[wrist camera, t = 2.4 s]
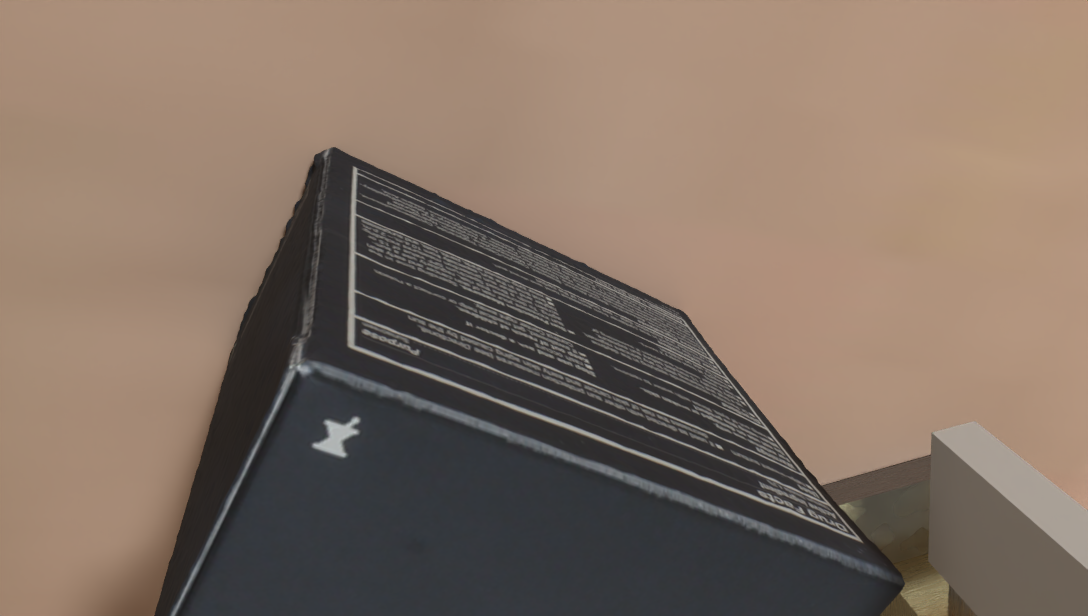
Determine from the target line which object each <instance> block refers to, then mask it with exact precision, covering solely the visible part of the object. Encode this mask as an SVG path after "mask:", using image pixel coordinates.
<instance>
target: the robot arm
mask: <svg viewBox="0 0 1088 616" xmlns="http://www.w3.org/2000/svg"><path fill="white" fill-rule="evenodd" d="M928 562H929V563H930V564H931V565H932V566H933V567H934V568H935V569H936V570H937V572H938V573H939V574H940V575H941V576H942V577H943V578H944V579H945V580H946V582H947V583H948V584H949V585H950V586H951V587H952V588H953V589H954V591H955V592H956V593H957V594H958V595H959V596H960V597H961V598H962V599H963V601H964V602H965V603H966V604H967V605H968V606H969V607H970V608H971V609H972V611H973V612H974V613H975V614H976V615H977V616H1088V510H1086V509H1085V508H1084V507H1083V506H1081V505H1080V504H1079V503H1078V502H1076V501H1075V500H1074V499H1073V498H1071V497H1070V496H1069V495H1068V494H1066V493H1065V492H1064V491H1063V490H1061V489H1060V488H1059V487H1057V486H1056V485H1055V484H1054V483H1052V482H1051V481H1050V480H1049V479H1047V478H1046V477H1045V476H1044V475H1042V474H1041V473H1040V472H1039V471H1037V470H1036V469H1035V468H1034V467H1032V466H1031V465H1030V464H1029V463H1027V462H1026V461H1025V460H1023V459H1022V458H1021V457H1020V456H1018V455H1017V454H1016V453H1015V452H1013V451H1012V450H1011V449H1010V448H1008V447H1007V446H1006V445H1005V444H1003V443H1002V442H1001V441H1000V440H998V439H997V438H996V437H995V436H993V435H992V434H991V433H989V432H988V431H987V430H986V429H984V428H983V427H982V426H981V425H979V424H978V423H977V422H976V421H973V422H969V423H966V424H962V425H958V426H954V427H951V428H947V429H943V430H940V431H936V432H932V440H931V477H930V514H929V552H928Z"/></svg>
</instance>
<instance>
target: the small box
mask: <svg viewBox="0 0 1088 616" xmlns="http://www.w3.org/2000/svg"><path fill="white" fill-rule="evenodd" d="M305 185H306V189H305V192H304V194H303V196H302V198H301V200H299V201H297V203H296V204H295V213H294V216H293V217H292V218H291V219H289V221H288V223H287V225H286V234H285V236H284V237H283V238H282V239H281V241H280V246H279V249H278V250H277V252H276V253H275V256H274V259H273V261H272V263H271V265H270V266H269V267H268V268H267V269H266V274H265V277H264V280H263V282H262V284H261V286H260V287H259V291H258V293H257V295H256V296H255V297H253V298H252V299H251V300H250V302H249V306H248V309H247V310H246V312H245V314H244V319H243V321H242V322H241V326H240V330H239V332H238V336H237V340H236V342H235V344H234V347H233V349H232V351H231V353H230V357H229V361H228V366H227V371H226V373H225V376H224V380H223V382H222V386H221V390H220V394H219V397H218V402H217V405H216V407H215V412H214V415H213V418H212V421H211V424H210V428H209V432H208V435H207V439H206V442H205V445H204V449H203V452H202V456H201V460H200V464H199V466H198V469H197V471H196V475H195V478H194V482H193V485H192V488H191V493H190V496H189V500H188V503H187V506H186V510H185V513H184V517H183V520H182V523H181V527H180V530H179V533H178V535H177V541H176V544H175V548H174V552H173V555H172V557H171V560H170V562H169V566H168V570H167V573H166V576H165V579H164V583H163V587H162V591H161V595H160V598H159V602H158V605H157V608H156V612H155V615H154V616H880V615H881V614H882V612H883V611H884V610H885V609H886V608H887V607H888V605H889V604H890V603H891V602H892V601H893V600H894V599H895V598H896V597H897V595H898V594H899V593H900V592H901V591H902V589H903V587H904V585H905V582H904V579H903V577H902V574H901V573H900V572H899V571H898V569H897V568H896V567H895V566H894V565H893V563H892V562H891V561H890V560H889V559H888V557H887V556H886V555H885V554H884V553H882V551H881V550H880V549H879V548H878V547H877V545H875V544H874V543H873V542H872V541H870V540H869V539H868V538H867V537H866V536H865V534H864V533H863V532H862V531H861V530H860V529H859V527H858V526H857V525H856V524H855V522H854V521H852V520H851V519H850V518H849V516H848V515H847V514H846V513H845V512H844V511H843V510H842V509H841V508H840V507H839V506H838V505H837V504H836V502H835V501H834V500H833V499H832V498H831V496H830V495H829V494H828V493H827V492H826V490H825V489H824V488H823V487H822V486H821V485H820V484H819V483H818V481H817V479H816V478H815V477H814V476H813V475H812V474H811V473H810V472H809V471H808V470H807V469H806V468H805V466H804V465H803V463H802V461H801V460H800V459H799V458H798V457H797V456H796V455H795V453H794V452H793V451H792V449H791V448H790V446H789V445H788V443H787V442H786V441H785V440H784V439H783V438H782V437H781V436H780V435H779V433H778V432H777V431H776V429H775V428H774V427H773V426H772V424H771V423H770V422H769V420H768V419H767V418H766V417H765V415H764V414H763V413H762V412H761V411H760V410H759V408H758V407H757V406H756V404H755V403H754V402H753V401H752V400H751V399H750V397H749V396H748V394H747V393H746V392H745V391H744V389H743V388H742V387H741V386H740V384H739V383H738V382H737V381H736V380H735V379H734V377H733V376H732V375H731V374H730V373H729V371H728V370H727V368H726V367H725V365H724V364H723V363H722V362H721V361H720V359H719V358H718V357H717V356H716V355H715V354H714V352H713V350H712V349H711V348H710V347H709V345H708V344H707V342H706V341H705V340H704V338H703V337H702V335H701V334H700V333H699V332H698V330H697V329H696V328H695V326H694V325H693V324H692V322H691V320H690V319H689V317H688V316H687V315H686V314H685V313H684V312H683V311H681V310H679V309H676V308H673V307H671V306H669V305H667V304H665V303H663V302H661V301H659V300H658V299H655V298H653V297H651V296H649V295H647V294H645V293H643V292H641V291H639V290H637V289H635V288H632V287H630V286H628V285H626V284H624V283H621V282H620V281H618V280H615V279H613V278H611V277H609V276H607V275H604V274H602V273H600V272H598V271H596V270H594V269H592V268H590V267H588V266H587V265H586V264H584V263H581V262H578V261H575V260H573V259H571V258H569V257H567V256H565V255H563V254H560V253H558V252H556V251H555V250H553V249H550V248H548V247H546V246H544V245H541V244H539V243H537V242H535V241H533V240H531V239H529V238H527V237H524V236H522V235H520V234H518V233H517V232H515V231H512V230H509V229H507V228H505V227H503V226H501V225H499V224H497V223H496V222H495V221H493V220H491V219H488V218H486V217H484V216H481V215H479V214H476V213H474V212H472V211H471V210H467V209H465V208H463V207H461V206H459V205H457V204H454V203H452V202H451V201H449V200H446V199H444V198H442V197H439V196H438V195H437V194H435V193H432V192H429V191H427V190H425V189H423V188H421V187H419V186H417V185H414V184H412V183H410V182H408V181H405V180H403V179H401V178H399V177H397V176H394V175H392V174H390V173H388V172H386V171H383V170H381V169H378V168H376V167H374V166H372V165H370V164H368V163H366V162H364V161H361V160H359V159H357V158H355V157H352V156H350V155H348V154H346V153H345V152H343V151H341V150H339V149H338V148H336V147H332V148H330V149H328V150H324V151H322V152H321V153H318V154H316V155H315V157H314V164H313V165H312V166H311V168H310V170H309V173H308V178H307V180H306V183H305Z"/></svg>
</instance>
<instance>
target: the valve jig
mask: <svg viewBox="0 0 1088 616" xmlns="http://www.w3.org/2000/svg"><path fill="white" fill-rule="evenodd" d="M930 477H931V455H929V456H926V457H922V458H919V459H915V460H912V461H908V462H905V463H901V464H898V465H894V466H891V467H887V468H884V469H880V470H877V471H873V472H870V473H866V474H863V475H859V476H856V477H852V478H849V479H845V480H842V481H838V482H835V483H831V484H827V485H824V486H822V487H823V488H824V489H825V490H826V492H827V493H828V494H829V495H830V496H831V498H832V499H833V500H834V501H835V502H836V504H837V505H838V506H839V507H840V508H841V509H842V510H843V511H844V512H845V513H846V514H847V515H848V516H849V518H850V519H851V520H852V521H854V522H855V524H856V525H857V526H858V527H859V529H860V530H861V531H862V532H863V533H864V534H865V536H866V537H867V538H868V539H869V540H870V541H872V542H873V543H874V544H875V545H877V547H878V548H879V549H880V550H881V551H882V553H884V554H885V555H886V556H887V557H888V559H889V560H890V561H891V562H892V563H893V565H894V566H895V567H896V568H897V569H898V571H899V572H900V573H901V574H902V577H903V579H904V582H905V585H904V587H903V589H902V591H901V592H900V593H899V594H898V595H897V597H896V598H895V599H894V600H893V601H892V602H891V603H890V604H889V605H888V607H887V608H886V609H885V610H884V611H883V612H882V614H881V615H880V616H977V615H976V614H975V613H974V612H973V611H972V609H971V608H970V607H969V606H968V605H967V604H966V603H965V602H964V601H963V599H962V598H961V597H960V596H959V595H958V594H957V593H956V592H955V591H954V589H953V588H952V587H951V586H950V585H949V584H948V583H947V582H946V580H945V579H944V578H943V577H942V576H941V575H940V574H939V573H938V572H937V570H936V569H935V568H934V567H933V566H932V565H931V564H930V563H929V562H928V552H929V514H930Z"/></svg>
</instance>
